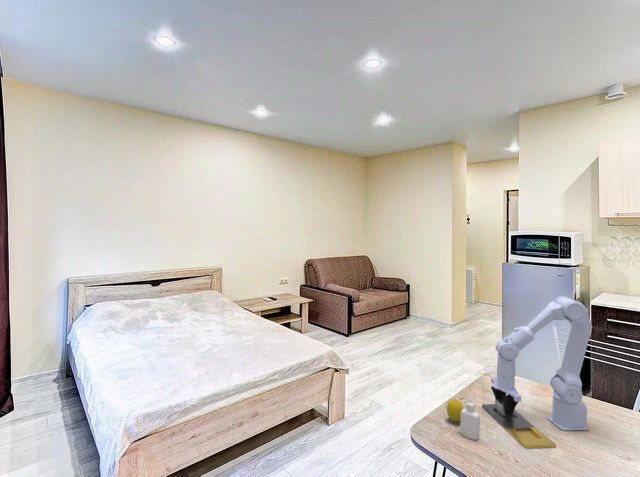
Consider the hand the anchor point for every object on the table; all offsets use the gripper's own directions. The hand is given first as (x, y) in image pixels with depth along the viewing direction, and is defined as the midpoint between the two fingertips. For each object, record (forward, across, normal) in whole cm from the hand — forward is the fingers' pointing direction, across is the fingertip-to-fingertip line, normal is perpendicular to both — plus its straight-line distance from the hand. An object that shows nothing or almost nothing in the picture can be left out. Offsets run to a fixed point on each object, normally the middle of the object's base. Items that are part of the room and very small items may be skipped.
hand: (504, 411), depth 121 cm
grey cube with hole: (+2, 0, 0) cm, 2 cm away
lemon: (+2, +3, -20) cm, 20 cm away
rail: (+2, +6, 0) cm, 6 cm away
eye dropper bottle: (+2, +11, -19) cm, 22 cm away
